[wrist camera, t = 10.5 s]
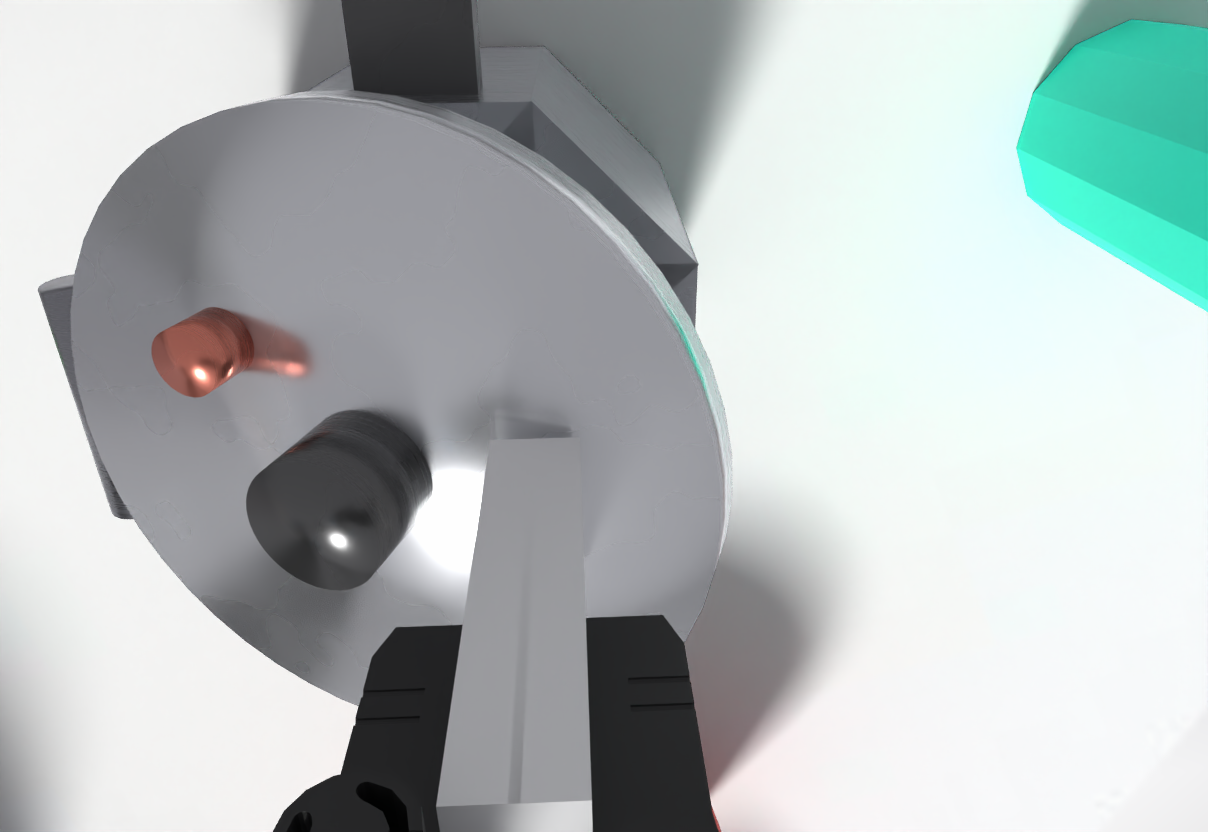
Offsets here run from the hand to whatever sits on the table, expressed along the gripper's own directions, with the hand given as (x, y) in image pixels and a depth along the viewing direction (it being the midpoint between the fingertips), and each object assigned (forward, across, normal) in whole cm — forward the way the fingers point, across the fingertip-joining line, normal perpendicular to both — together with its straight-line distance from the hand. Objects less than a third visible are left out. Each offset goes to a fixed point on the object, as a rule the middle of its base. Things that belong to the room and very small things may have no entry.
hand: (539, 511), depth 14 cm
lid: (+3, -3, 0) cm, 4 cm away
